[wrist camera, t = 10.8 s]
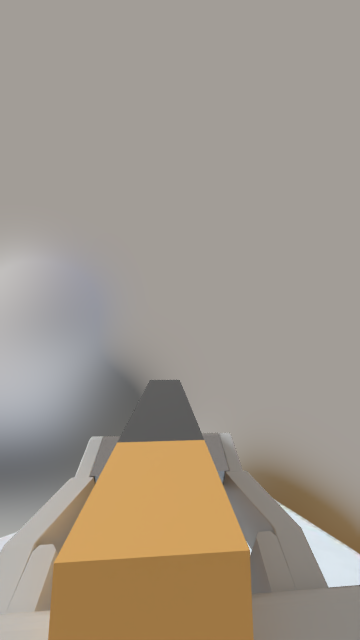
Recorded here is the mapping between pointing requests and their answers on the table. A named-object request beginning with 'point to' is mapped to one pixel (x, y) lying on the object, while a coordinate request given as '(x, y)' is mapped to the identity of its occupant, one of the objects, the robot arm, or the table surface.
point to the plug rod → (155, 539)
